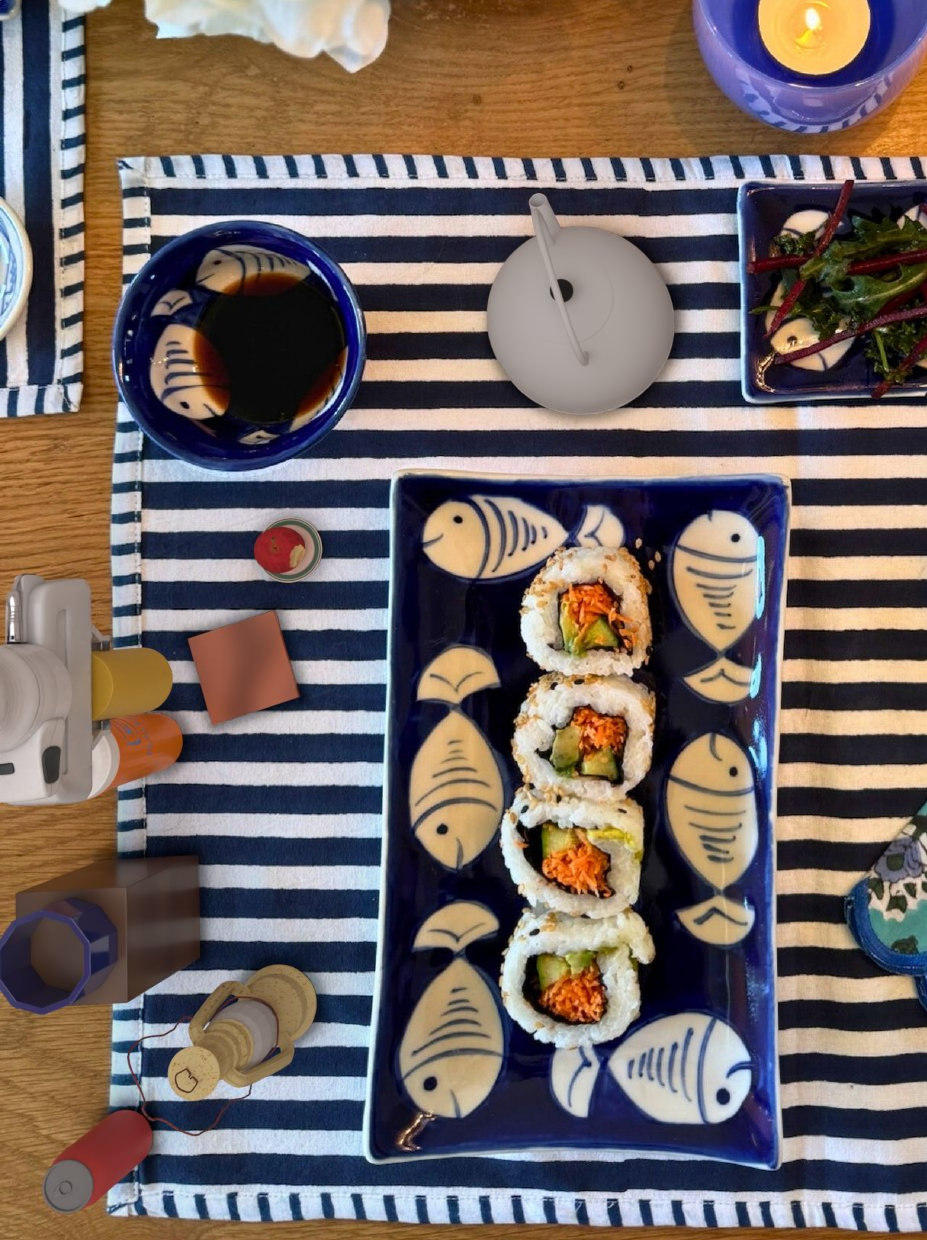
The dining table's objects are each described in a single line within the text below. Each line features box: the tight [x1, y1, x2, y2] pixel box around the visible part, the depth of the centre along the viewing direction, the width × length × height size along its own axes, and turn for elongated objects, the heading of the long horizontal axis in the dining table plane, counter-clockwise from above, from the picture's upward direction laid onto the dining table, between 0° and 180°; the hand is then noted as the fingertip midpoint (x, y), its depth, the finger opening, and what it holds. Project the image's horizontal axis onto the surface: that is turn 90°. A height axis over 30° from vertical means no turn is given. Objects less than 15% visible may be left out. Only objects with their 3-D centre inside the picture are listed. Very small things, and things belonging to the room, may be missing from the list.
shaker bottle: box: [85, 712, 184, 801], centre depth 131 cm, size 9×9×20 cm
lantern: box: [126, 964, 318, 1137], centre depth 123 cm, size 12×10×30 cm
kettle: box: [486, 192, 676, 416], centre depth 134 cm, size 25×23×22 cm
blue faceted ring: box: [0, 898, 117, 1016], centre depth 121 cm, size 10×10×5 cm
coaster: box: [187, 610, 301, 726], centre depth 142 cm, size 11×11×1 cm
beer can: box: [41, 1109, 153, 1215], centre depth 131 cm, size 7×7×12 cm
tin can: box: [91, 647, 174, 722], centre depth 113 cm, size 7×7×11 cm
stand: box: [14, 854, 201, 1010], centre depth 131 cm, size 12×12×16 cm
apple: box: [253, 516, 323, 583], centre depth 140 cm, size 8×8×6 cm
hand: (103, 685), depth 112 cm, fingers closed on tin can, 6 cm apart
